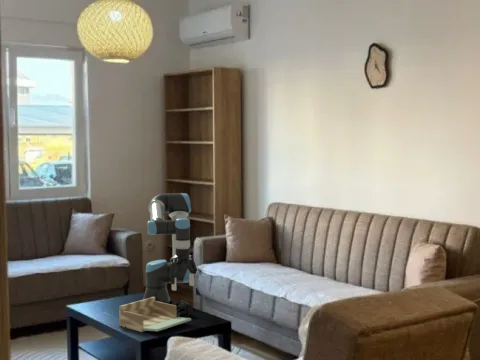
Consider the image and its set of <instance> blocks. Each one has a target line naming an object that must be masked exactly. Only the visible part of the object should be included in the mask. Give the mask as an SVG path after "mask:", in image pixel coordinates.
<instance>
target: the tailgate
mask: <svg viewBox="0 0 480 360" xmlns="http://www.w3.org/2000/svg"><path fill="white" fill-rule="evenodd" d="M189 321H190V322H191V321H192V318H190V317H179V316H176V318H173V319H170V320H167V321H163V322H160V323H157V324H154V325H151V326H147V327H144V328H143V330H147V331H149V332H160V331H163V330H167V329H168V328H172V327H175V326H177V325H178V326H179V325H182V324H184V323H188V322H189Z"/></svg>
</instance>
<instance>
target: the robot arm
mask: <svg viewBox="0 0 480 360" xmlns="http://www.w3.org/2000/svg"><path fill="white" fill-rule="evenodd" d="M191 205H192V204H191V199H190V196H189V194H187V193H186V192H185V193H183V192H180V193H178V192H177V193H175V192H174V193H169V192H168V193H160V194H157V195H155V196H153V197H152V198H151V199H150V200H149V202H148V205H147V206H148V207H147V209H148V212H149V217H150V219H149V220H148V221H147V225H146V226H147V227H146V229H147V234H148V235H150V236H151V235H152V236H156V235H157V236H159V235H171V242H172V244H171V245H172V257H171V258H170V259H169V260H170V261H169V262H168V261H167V260H166V259H157V260H152V261H149V262H147V263H146V266H145V292H144V295H143V297H142V300H144V299H148V298H151V297H155V301H158V302H163V303H167V304H170V302H171V297H170V295H169V290H168V288H167V287H168V286H167V285H168V284H171V291H177V284H184V283H185V284H186V283H188V284H189V286H191V287H194V286H195V277H196V276H195V274H197V272H198V268H197V265H196V262H195V259H194V255H191V239H190V238H191V224H190V223H191V221H190V219H189V218H188V217H189V215H190V213H191V212H192V207H191ZM165 214H168V217H170V218H171V219H167V220H166V219H165V216H164V215H165Z"/></svg>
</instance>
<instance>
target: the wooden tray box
mask: <svg viewBox="0 0 480 360" xmlns="http://www.w3.org/2000/svg"><path fill="white" fill-rule="evenodd" d="M176 307H177V305H174V304H173V303H172V304H170V303H163V302H158V301H155V297H151V298H148V299H144V300H143V299H141V300H137V301H132V302H130V303H126V304H122V305H119V306H118V316H119V317H118V325H119V327H121V326H122V328H125V327H126V328H125V329H129V330H133V331H137V332H140V333H143V332H146V331H148V330H143V328H144V327H147V326H151V325H154V324H157V323H160V322H163V321H167V320H170V319H173V318H176V317H177V315H176Z"/></svg>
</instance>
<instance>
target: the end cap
mask: <svg viewBox="0 0 480 360" xmlns="http://www.w3.org/2000/svg"><path fill="white" fill-rule="evenodd" d="M173 305H176V317H179V318H188V317H189V316H191V314H192V313H193V311H194V308H193V306H192V305H191V304H190V303H188V302H187V301H185V300H183V299H180V300H179V301H175V302H173Z"/></svg>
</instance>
